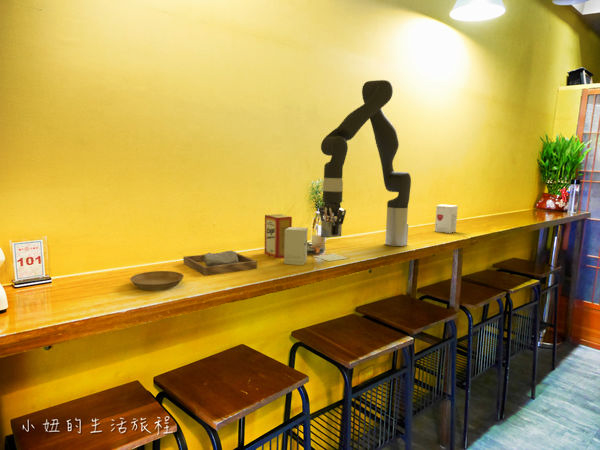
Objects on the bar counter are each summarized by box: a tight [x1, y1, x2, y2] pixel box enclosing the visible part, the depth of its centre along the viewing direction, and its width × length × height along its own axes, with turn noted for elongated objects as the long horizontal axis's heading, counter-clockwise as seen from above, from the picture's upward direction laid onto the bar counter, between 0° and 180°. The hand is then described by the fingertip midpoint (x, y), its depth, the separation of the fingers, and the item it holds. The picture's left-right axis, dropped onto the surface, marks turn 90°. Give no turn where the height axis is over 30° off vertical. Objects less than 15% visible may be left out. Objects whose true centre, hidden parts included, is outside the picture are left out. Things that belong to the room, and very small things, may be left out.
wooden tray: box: [182, 252, 258, 276], centre depth 146 cm, size 19×19×2 cm
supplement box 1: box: [283, 226, 309, 266], centre depth 153 cm, size 7×7×13 cm
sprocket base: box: [307, 250, 325, 255], centre depth 174 cm, size 13×13×1 cm
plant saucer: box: [129, 270, 184, 291], centre depth 122 cm, size 15×15×3 cm
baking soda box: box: [264, 213, 293, 259], centre depth 165 cm, size 10×6×16 cm
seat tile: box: [312, 252, 349, 262], centre depth 163 cm, size 10×10×1 cm
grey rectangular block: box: [320, 220, 343, 239], centre depth 162 cm, size 9×4×6 cm, turn 125°
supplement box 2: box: [434, 203, 459, 234], centre depth 234 cm, size 9×9×15 cm
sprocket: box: [307, 234, 326, 253], centre depth 174 cm, size 14×14×6 cm
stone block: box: [203, 250, 240, 267], centre depth 149 cm, size 12×5×10 cm
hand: (331, 234), depth 162 cm, fingers closed on grey rectangular block, 4 cm apart
